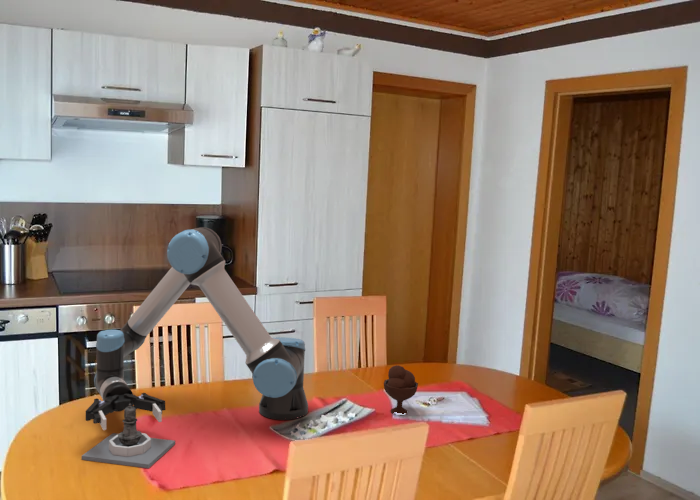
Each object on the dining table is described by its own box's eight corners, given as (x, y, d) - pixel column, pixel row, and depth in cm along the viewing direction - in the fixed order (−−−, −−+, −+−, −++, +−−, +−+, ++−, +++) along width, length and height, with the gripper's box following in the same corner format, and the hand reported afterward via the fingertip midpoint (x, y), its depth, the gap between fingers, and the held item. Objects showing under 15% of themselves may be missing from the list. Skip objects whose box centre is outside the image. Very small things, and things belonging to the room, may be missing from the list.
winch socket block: (175, 444, 176) (175, 432, 176) (148, 468, 162) (148, 455, 161) (113, 436, 179) (113, 425, 179) (81, 459, 165) (81, 447, 164)
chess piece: (134, 453, 167) (134, 408, 166) (113, 451, 168) (113, 405, 167) (146, 444, 173) (146, 400, 171) (125, 442, 174) (125, 398, 172)
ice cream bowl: (393, 420, 201) (396, 373, 199) (375, 408, 211) (378, 362, 209) (423, 416, 206) (426, 369, 204) (404, 404, 215) (406, 359, 214)
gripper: (161, 401, 191) (181, 427, 173) (68, 413, 179) (80, 443, 161) (161, 376, 191) (182, 399, 172) (68, 386, 178) (80, 413, 160)
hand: (133, 420), depth 167 cm, fingers open, 13 cm apart
